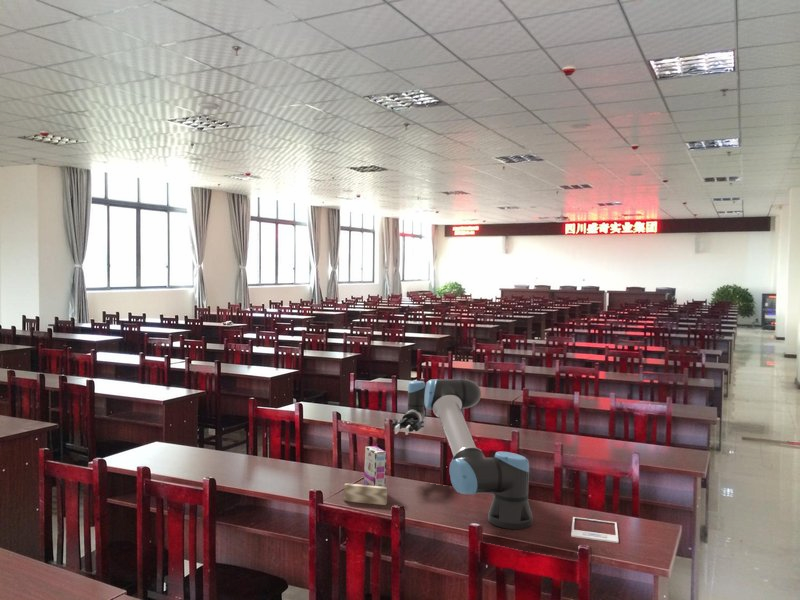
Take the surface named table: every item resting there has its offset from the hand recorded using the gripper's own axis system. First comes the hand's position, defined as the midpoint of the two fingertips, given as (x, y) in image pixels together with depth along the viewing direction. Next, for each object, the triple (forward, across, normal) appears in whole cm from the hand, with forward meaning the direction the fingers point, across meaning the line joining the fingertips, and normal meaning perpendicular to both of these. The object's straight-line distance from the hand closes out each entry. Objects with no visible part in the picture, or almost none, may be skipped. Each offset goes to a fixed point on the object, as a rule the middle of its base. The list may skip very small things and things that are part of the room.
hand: (401, 431), depth 255 cm
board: (+24, +8, -22) cm, 33 cm away
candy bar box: (+10, +8, -22) cm, 25 cm away
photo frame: (+29, -73, -23) cm, 82 cm away
